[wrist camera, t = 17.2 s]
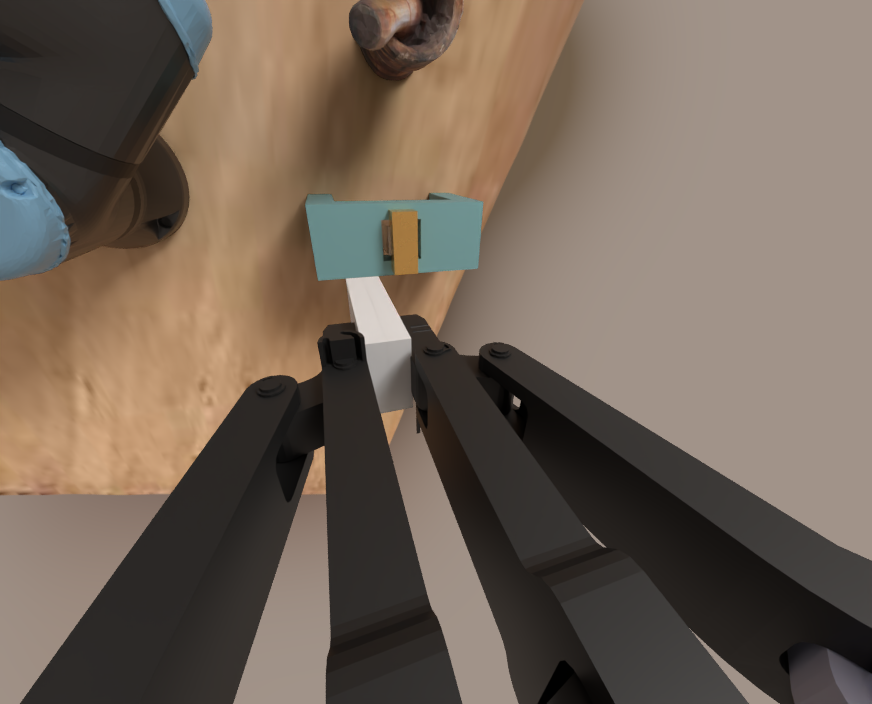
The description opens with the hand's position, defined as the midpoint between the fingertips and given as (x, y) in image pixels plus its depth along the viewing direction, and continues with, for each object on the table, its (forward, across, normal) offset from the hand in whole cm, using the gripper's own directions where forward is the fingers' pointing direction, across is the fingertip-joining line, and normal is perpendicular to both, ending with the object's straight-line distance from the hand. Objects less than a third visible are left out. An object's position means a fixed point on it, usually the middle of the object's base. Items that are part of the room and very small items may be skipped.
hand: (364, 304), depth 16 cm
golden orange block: (+36, +7, -2) cm, 37 cm away
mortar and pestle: (+37, +8, +17) cm, 41 cm away
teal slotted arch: (+36, +7, -2) cm, 37 cm away
